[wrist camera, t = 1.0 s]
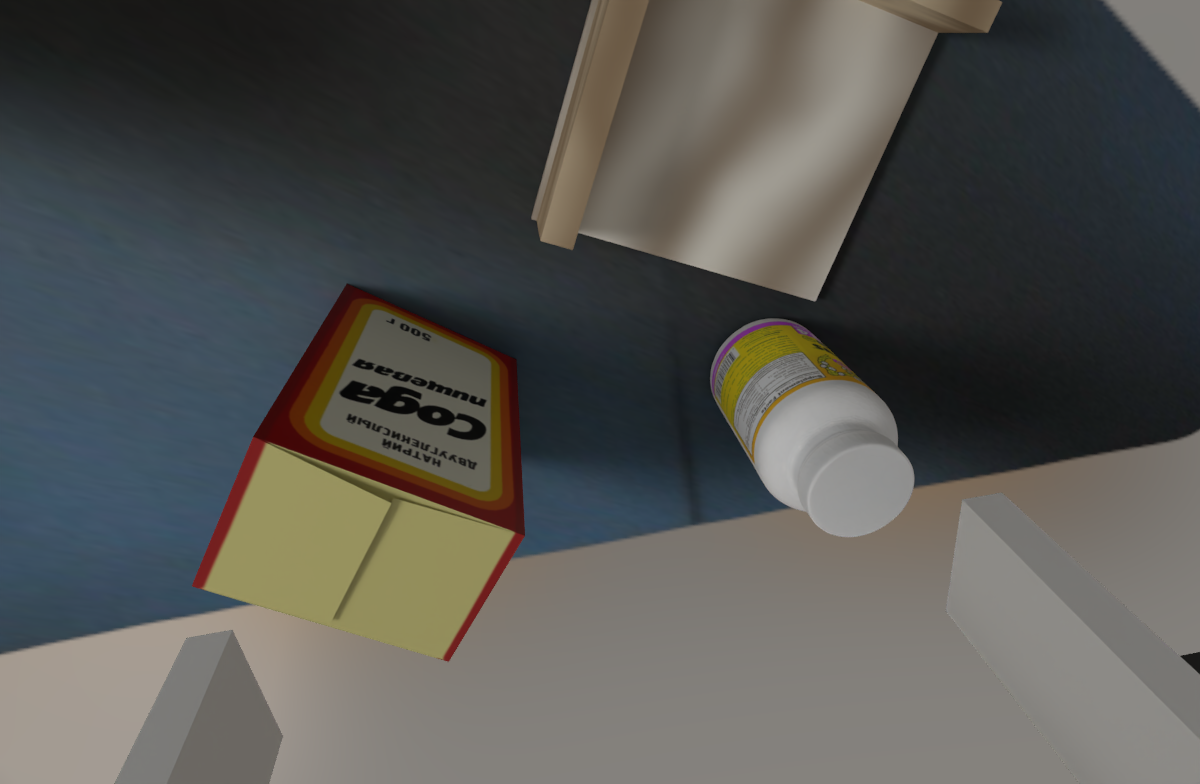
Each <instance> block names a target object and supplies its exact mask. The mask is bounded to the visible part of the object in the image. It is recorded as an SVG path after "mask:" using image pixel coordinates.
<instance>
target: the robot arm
mask: <svg viewBox="0 0 1200 784" xmlns="http://www.w3.org/2000/svg"><path fill="white" fill-rule="evenodd" d="M946 612H947V613H948V615H949V616H950V617H951V618H952V620H953V621H954V622H955V623H956V625H957V626H958V627H959V629H960V630H961V631H962V632H963V634H964V635H965V636H966V638H967V639H968V640H969V642H970V643H971V644H972V646H973V647H974V648H975V649H976V651H977V652H978V653H979V655H980V656H981V657H982V658H983V660H984V661H985V662H986V664H987V665H988V666H989V667H990V669H991V670H992V671H993V673H994V674H995V675H996V676H997V678H998V679H999V680H1000V682H1001V683H1002V684H1003V686H1004V687H1005V688H1006V689H1007V691H1008V692H1009V693H1010V695H1011V696H1012V697H1013V698H1014V700H1015V701H1016V702H1017V704H1018V705H1019V706H1020V707H1021V709H1022V710H1023V711H1024V713H1025V714H1026V715H1027V717H1028V718H1029V719H1030V720H1031V722H1032V723H1033V724H1034V726H1035V727H1036V728H1037V729H1038V731H1039V732H1040V733H1041V734H1042V736H1043V737H1044V738H1045V740H1046V741H1047V742H1048V744H1049V745H1050V746H1051V748H1052V749H1053V750H1054V751H1055V753H1056V754H1057V755H1058V756H1059V758H1060V759H1061V760H1062V762H1063V763H1064V764H1065V765H1066V767H1067V768H1068V770H1069V771H1070V772H1071V773H1072V775H1073V776H1074V777H1075V778H1076V780H1077V781H1078V782H1079V784H1200V652H1198V653H1193V654H1188V655H1183V656H1179V655H1178V654H1177V653H1176V652H1175V651H1174V650H1173V649H1172V648H1171V647H1169V646H1168V645H1167V644H1166V643H1165V642H1164V641H1163V640H1162V639H1161V638H1160V637H1158V636H1157V635H1156V634H1155V633H1154V632H1153V631H1152V630H1151V629H1150V628H1149V627H1148V626H1147V625H1145V624H1144V623H1143V622H1142V621H1141V620H1140V619H1139V618H1138V617H1137V616H1136V615H1135V614H1133V613H1132V612H1131V611H1130V610H1129V609H1128V608H1127V607H1126V606H1125V605H1124V604H1122V603H1121V602H1120V601H1119V600H1118V599H1117V598H1116V597H1115V596H1114V595H1113V594H1112V593H1111V592H1110V591H1108V590H1107V589H1106V588H1105V587H1104V586H1103V585H1102V584H1101V583H1100V582H1099V581H1098V580H1097V579H1095V578H1094V577H1093V576H1092V575H1091V574H1090V573H1089V572H1088V571H1087V570H1085V569H1084V568H1083V567H1082V566H1081V565H1080V564H1079V563H1078V562H1077V561H1076V560H1075V559H1073V557H1071V556H1070V555H1069V554H1068V553H1067V552H1066V551H1065V550H1064V549H1063V548H1062V547H1061V546H1059V545H1058V544H1057V543H1056V542H1055V541H1054V540H1053V539H1052V538H1051V537H1050V536H1048V534H1046V533H1045V532H1044V531H1043V530H1042V529H1041V528H1040V527H1039V526H1038V525H1037V524H1036V523H1034V522H1033V521H1032V520H1031V519H1030V518H1029V517H1028V516H1027V515H1026V514H1025V513H1023V512H1022V511H1021V510H1020V509H1019V508H1018V507H1017V506H1016V505H1015V504H1014V503H1013V502H1012V501H1010V500H1009V499H1008V498H1007V497H1006V496H1005V495H1004V494H1003V493H997V494H992V495H986V496H980V497H975V498H969V499H963V500H962V505H961V512H960V518H959V525H958V532H957V538H956V545H955V552H954V559H953V565H952V572H951V579H950V585H949V592H948V599H947V605H946ZM282 737H283V735H282V733H281V731H280V729H279V727H278V725H277V723H276V721H275V719H274V717H273V714H272V712H271V710H270V708H269V706H268V704H267V702H266V700H265V698H264V696H263V694H262V691H261V689H260V687H259V685H258V683H257V681H256V679H255V677H254V674H253V673H252V670H251V668H250V666H249V664H248V662H247V660H246V658H245V656H244V653H243V651H242V649H241V647H240V645H239V643H238V641H237V639H236V637H235V635H234V632H233V630H229V631H224V632H218V633H212V634H206V635H201V636H195V637H190V638H186V640H185V642H184V644H183V646H182V648H181V650H180V652H179V654H178V656H177V658H176V660H175V662H174V664H173V666H172V668H171V670H170V672H169V674H168V677H167V679H166V681H165V682H164V684H163V686H162V688H161V691H160V693H159V695H158V697H157V699H156V701H155V703H154V705H153V707H152V709H151V711H150V713H149V715H148V717H147V719H146V721H145V723H144V725H143V727H142V729H141V731H140V733H139V735H138V737H137V739H136V741H135V743H134V745H133V747H132V749H131V751H130V753H129V755H128V757H127V760H126V761H125V763H124V765H123V767H122V769H121V771H120V773H119V775H118V777H117V779H116V781H115V783H114V784H269V782H270V778H271V775H272V771H273V768H274V765H275V761H276V758H277V754H278V751H279V747H280V744H281V741H282Z"/></svg>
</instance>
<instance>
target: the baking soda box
mask: <svg viewBox="0 0 1200 784" xmlns="http://www.w3.org/2000/svg"><path fill="white" fill-rule="evenodd" d="M524 536H525V527H524V507H523V487H522V466H521V446H520V426H519V405H518V385H517V365H516V359H514V358H512V357H510V356H508V355H505V354H503V353H501V352H499V351H496V350H494V349H492V348H490V347H487V346H485V345H483V344H481V343H478V342H476V341H474V340H472V339H470V338H467V337H465V336H463V335H461V334H458V333H456V332H454V331H452V330H449V329H447V328H445V327H443V326H440V325H438V324H436V323H434V322H432V321H429V320H427V319H425V318H423V317H420V316H418V315H416V314H414V313H411V312H409V311H407V310H405V309H402V308H400V307H398V306H396V305H394V304H391V303H389V302H387V301H385V300H382V299H380V298H378V297H376V296H373V295H371V294H369V293H367V292H365V291H362V290H360V289H358V288H356V287H353V286H351V285H349V284H347V285H346V286H345V288H344V289H343V291H342V293H341V294H340V296H339V298H338V299H337V301H336V303H335V304H334V306H333V307H332V309H331V311H330V312H329V314H328V316H327V317H326V319H325V320H324V322H323V324H322V325H321V327H320V329H319V330H318V332H317V334H316V335H315V337H314V338H313V340H312V342H311V343H310V345H309V347H308V348H307V350H306V352H305V353H304V355H303V356H302V358H301V360H300V361H299V363H298V365H297V366H296V368H295V370H294V371H293V373H292V374H291V376H290V378H289V379H288V381H287V383H286V384H285V386H284V387H283V389H282V391H281V392H280V394H279V396H278V397H277V399H276V401H275V402H274V404H273V405H272V407H271V409H270V410H269V412H268V414H267V415H266V417H265V419H264V420H263V422H262V423H261V425H260V427H259V428H258V430H257V432H256V433H255V435H254V436H253V439H252V441H251V444H250V446H249V449H248V451H247V453H246V456H245V458H244V461H243V463H242V466H241V468H240V470H239V473H238V475H237V478H236V480H235V483H234V485H233V487H232V490H231V492H230V495H229V497H228V500H227V502H226V504H225V507H224V509H223V512H222V514H221V517H220V519H219V521H218V524H217V526H216V529H215V531H214V534H213V536H212V538H211V541H210V543H209V546H208V548H207V551H206V553H205V555H204V558H203V560H202V563H201V565H200V568H199V570H198V572H197V575H196V577H195V580H194V582H193V585H192V586H193V587H196V588H200V589H203V590H206V591H210V592H213V593H217V594H220V595H223V596H227V597H230V598H234V599H237V600H241V601H244V602H247V603H251V604H254V605H258V606H261V607H264V608H268V609H271V610H275V611H278V612H282V613H285V614H288V615H292V616H295V617H298V618H302V619H305V620H309V621H312V622H315V623H319V624H322V625H326V626H329V627H333V628H336V629H339V630H343V631H346V632H350V633H353V634H356V635H360V636H363V637H366V638H370V639H373V640H377V641H381V642H384V643H387V644H391V645H394V646H397V647H401V648H404V649H407V650H411V651H414V652H417V653H421V654H425V655H428V656H431V657H434V658H438V659H441V660H445V661H449V660H450V659H451V657H452V655H453V654H454V652H455V650H456V649H457V647H458V645H459V644H460V642H461V640H462V639H463V637H464V635H465V634H466V632H467V631H468V629H469V627H470V626H471V624H472V622H473V621H474V619H475V617H476V616H477V614H478V612H479V611H480V609H481V607H482V606H483V604H484V602H485V600H486V599H487V597H488V596H489V594H490V593H491V591H492V589H493V588H494V586H495V584H496V582H497V581H498V579H499V578H500V576H501V574H502V573H503V571H504V569H505V568H506V566H507V564H508V563H509V561H510V559H511V558H512V556H513V555H514V553H515V551H516V550H517V548H518V546H519V545H520V543H521V541H522V540H523V538H524Z"/></svg>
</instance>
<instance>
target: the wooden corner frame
mask: <svg viewBox="0 0 1200 784" xmlns="http://www.w3.org/2000/svg"><path fill="white" fill-rule="evenodd" d="M1001 4H1002V2H1001V1H998V0H591V3H590V7H589V10H588V14H587V18H586V21H585V25H584V28H583V32H582V36H581V39H580V43H579V46H578V50H577V54H576V57H575V61H574V64H573V68H572V72H571V75H570V79H569V82H568V86H567V90H566V93H565V97H564V100H563V104H562V108H561V111H560V115H559V119H558V122H557V126H556V129H555V133H554V137H553V140H552V144H551V147H550V151H549V155H548V158H547V162H546V165H545V169H544V173H543V176H542V180H541V183H540V187H539V191H538V194H537V198H536V201H535V205H534V209H533V212H532V216H531V218H532V219H533V220H536V221H537V225H538V230H539V235H540V241H543V242H546V243H550V244H553V245H557V246H560V247H564V248H568V249H571V250H573V247H574V244H575V241H576V237H577V234H578V233H581V234H584V235H588V236H591V237H595V238H598V239H602V240H605V241H609V242H612V243H615V244H619V245H622V246H626V247H629V248H633V249H636V250H640V251H643V252H646V253H650V254H653V255H657V256H660V257H664V258H667V259H671V260H674V261H678V262H681V263H684V264H688V265H691V266H695V267H698V268H702V269H705V270H709V271H712V272H715V273H719V274H722V275H726V276H729V277H733V278H736V279H740V280H743V281H747V282H750V283H753V284H757V285H760V286H764V287H767V288H771V289H774V290H778V291H781V292H784V293H788V294H791V295H795V296H798V297H802V298H805V299H809V300H812V301H816V299H817V297H818V295H819V293H820V290H821V288H822V286H823V284H824V282H825V279H826V277H827V275H828V273H829V271H830V269H831V266H832V264H833V262H834V260H835V258H836V255H837V253H838V251H839V249H840V247H841V244H842V242H843V240H844V238H845V236H846V234H847V231H848V229H849V227H850V225H851V223H852V220H853V218H854V216H855V214H856V212H857V209H858V207H859V205H860V203H861V201H862V199H863V196H864V194H865V192H866V190H867V188H868V185H869V183H870V181H871V179H872V177H873V174H874V172H875V170H876V168H877V166H878V164H879V161H880V159H881V157H882V155H883V153H884V150H885V148H886V146H887V144H888V142H889V140H890V137H891V135H892V133H893V131H894V129H895V126H896V124H897V122H898V120H899V118H900V115H901V113H902V111H903V109H904V107H905V105H906V102H907V100H908V98H909V96H910V94H911V91H912V89H913V87H914V85H915V83H916V80H917V78H918V76H919V74H920V72H921V70H922V67H923V65H924V63H925V61H926V59H927V56H928V54H929V52H930V50H931V48H932V45H933V43H934V41H935V39H936V37H937V35H938V33H988V31H989V29H990V27H991V25H992V23H993V21H994V19H995V17H996V15H997V13H998V10H999V8H1000V6H1001Z"/></svg>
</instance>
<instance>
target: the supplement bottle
mask: <svg viewBox="0 0 1200 784" xmlns="http://www.w3.org/2000/svg"><path fill="white" fill-rule="evenodd" d="M710 385H711V391H712V394H713V397H714V399H715V401H716V403H717V405H718V407H719V408H720V410H721V412H722V414H723V415H724V417H725V419H726V420H727V422H728V424H729V425H730V427H731V429H732V430H733V432H734V434H735V435H736V437H737V439H738V440H739V442H740V444H741V446H742V447H743V449H744V451H745V452H746V454H747V456H748V457H749V459H750V461H751V462H752V464H753V466H754V468H755V469H756V471H757V473H758V475H759V476H760V478H761V480H762V481H763V483H764V485H765V486H766V488H767V489H768V490H769V492H770V493H771V494H772V495H773V496H774V497H775V498H777V499H778V500H779V501H781V502H782V503H784V504H786V505H788V506H790V507H792V508H794V509H797V510H801V511H806V512H807V513H808V514H809V516H810V517H811V519H812V520H813V522H814V523H815V524H816V525H817V526H818V527H820V528H821V529H822V530H824V531H825V532H827V533H829V534H832V535H835V536H840V537H857V536H862V535H866V534H869V533H871V532H874V531H876V530H878V529H880V528H882V527H884V526H885V525H887V524H888V523H889V522H891V521H892V520H893V519H894V518H895V517H896V516H898V514H900V512H901V511H902V510H903V509H904V507H905V506H906V504H907V503H908V501H909V499H910V497H911V494H912V491H913V487H914V472H913V468H912V465H911V463H910V461H909V460H908V458H907V457H906V456H905V455H904V453H903V452H902V451H901V450H900V449H899V448H898V447H897V446H898V432H897V426H896V423H895V420H894V417H893V415H892V413H891V411H890V409H889V408H888V407H887V405H886V404H885V403H884V401H883V400H882V399H881V398H880V397H879V396H878V395H877V394H876V393H875V392H874V391H873V390H871V389H870V388H869V387H868V386H867V385H866V384H865V383H864V382H863V381H862V380H861V379H860V378H859V377H858V376H857V375H855V374H854V373H853V372H852V371H851V370H850V369H849V368H848V367H847V366H846V365H845V364H844V363H843V362H842V361H841V360H840V359H839V358H838V357H837V356H836V355H835V354H834V353H833V352H832V351H831V350H829V349H828V348H827V347H826V346H825V345H824V344H823V343H822V342H821V341H820V340H819V339H818V338H817V337H816V336H815V335H813V334H812V333H811V332H810V331H809V330H807V329H806V328H805V327H803V326H801V325H800V324H798V323H795V322H793V321H790V320H785V319H779V318H769V319H762V320H758V321H754V322H752V323H749V324H747V325H745V326H743V327H742V328H740V329H739V330H737V331H736V332H734V333H733V334H732V335H731V336H730V337H729V338H728V339H727V340H726V341H725V342H724V343H723V344H722V346H721V347H720V348H719V350H718V352H717V354H716V356H715V358H714V361H713V363H712V367H711V373H710Z"/></svg>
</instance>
